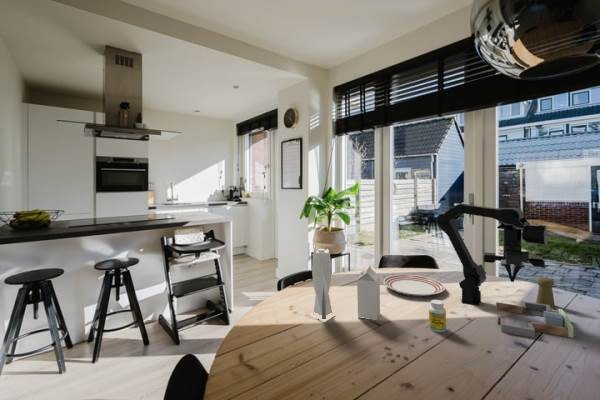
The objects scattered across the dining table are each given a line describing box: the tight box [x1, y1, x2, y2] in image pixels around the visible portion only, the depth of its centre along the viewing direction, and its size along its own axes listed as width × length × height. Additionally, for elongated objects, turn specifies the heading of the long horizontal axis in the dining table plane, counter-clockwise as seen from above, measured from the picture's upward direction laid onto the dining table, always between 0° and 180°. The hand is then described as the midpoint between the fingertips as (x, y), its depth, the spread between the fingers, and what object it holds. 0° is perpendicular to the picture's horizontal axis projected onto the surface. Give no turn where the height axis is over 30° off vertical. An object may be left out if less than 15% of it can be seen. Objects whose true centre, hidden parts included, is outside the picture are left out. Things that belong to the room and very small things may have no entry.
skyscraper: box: [311, 244, 333, 319], centre depth 117 cm, size 8×8×28 cm
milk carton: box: [356, 265, 381, 321], centre depth 116 cm, size 7×7×19 cm
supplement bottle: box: [428, 299, 447, 333], centre depth 105 cm, size 5×5×10 cm
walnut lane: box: [495, 301, 569, 338], centre depth 109 cm, size 19×15×2 cm
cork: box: [535, 277, 556, 309], centre depth 122 cm, size 6×6×11 cm
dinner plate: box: [382, 274, 446, 297], centre depth 144 cm, size 28×27×3 cm
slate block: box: [543, 311, 563, 327], centre depth 105 cm, size 4×4×4 cm
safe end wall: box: [558, 308, 575, 339], centre depth 103 cm, size 1×15×4 cm, turn 149°
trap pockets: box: [500, 300, 554, 339], centre depth 109 cm, size 16×27×2 cm, turn 149°
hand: (512, 281), depth 116 cm, fingers closed
